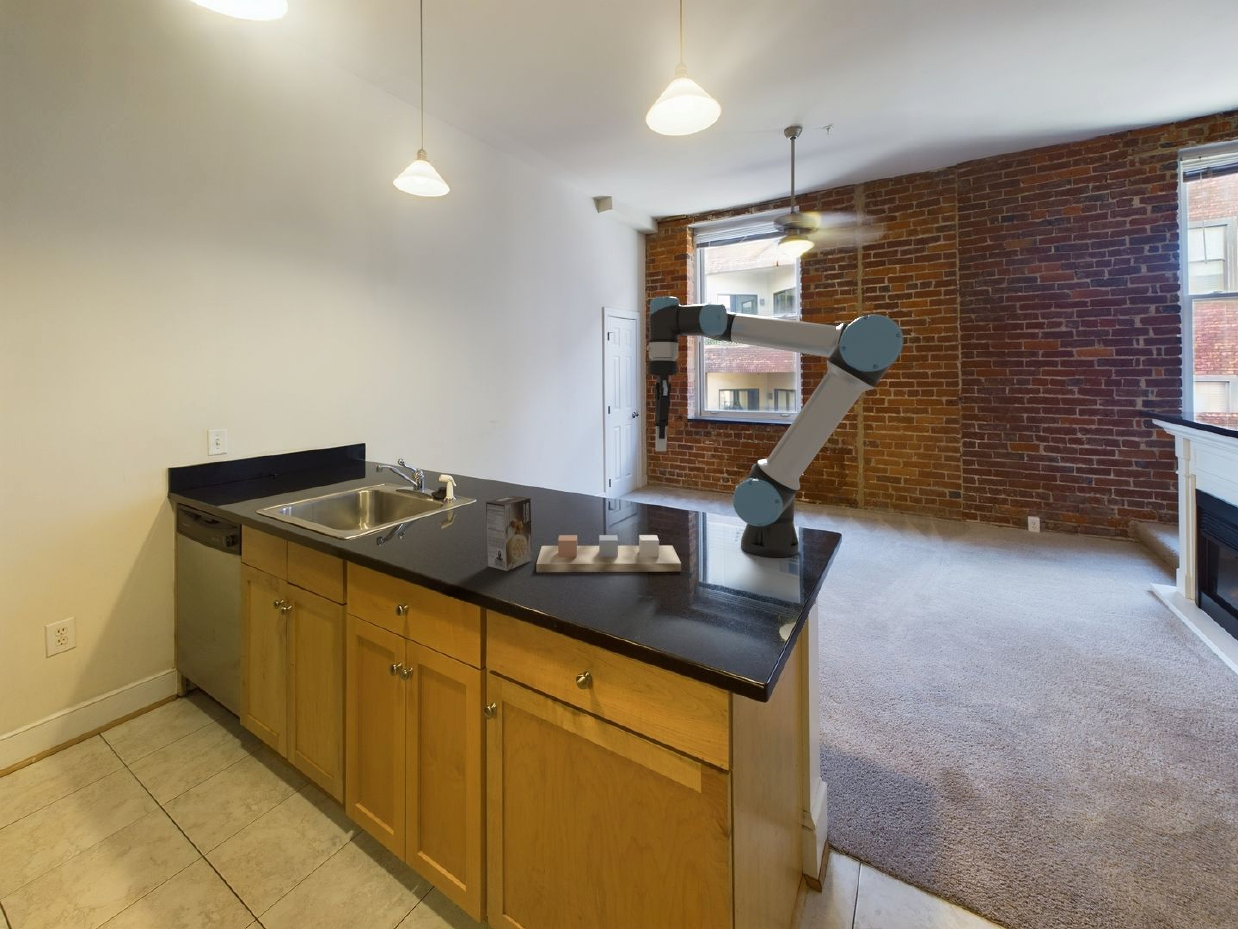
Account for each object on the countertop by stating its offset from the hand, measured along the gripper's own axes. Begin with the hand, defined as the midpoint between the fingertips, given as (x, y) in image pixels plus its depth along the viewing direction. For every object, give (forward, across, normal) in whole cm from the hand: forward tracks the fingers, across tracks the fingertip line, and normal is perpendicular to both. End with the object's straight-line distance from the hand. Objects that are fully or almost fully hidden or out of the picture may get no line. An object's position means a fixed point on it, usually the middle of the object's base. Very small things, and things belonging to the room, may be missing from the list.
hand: (660, 450), depth 141 cm
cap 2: (+24, +12, -4) cm, 27 cm away
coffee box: (+27, +13, -38) cm, 48 cm away
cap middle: (+24, +12, -14) cm, 31 cm away
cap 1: (+24, +12, -24) cm, 36 cm away
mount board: (+26, +12, -14) cm, 32 cm away
